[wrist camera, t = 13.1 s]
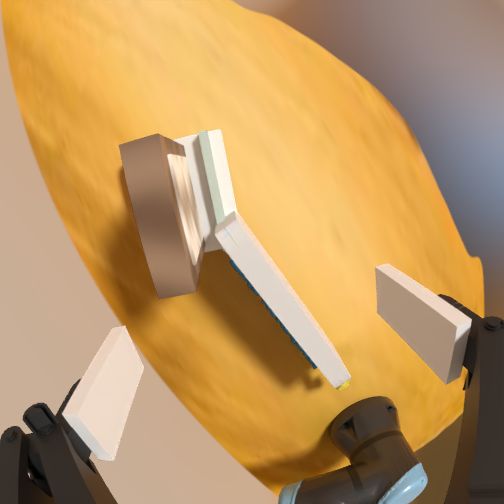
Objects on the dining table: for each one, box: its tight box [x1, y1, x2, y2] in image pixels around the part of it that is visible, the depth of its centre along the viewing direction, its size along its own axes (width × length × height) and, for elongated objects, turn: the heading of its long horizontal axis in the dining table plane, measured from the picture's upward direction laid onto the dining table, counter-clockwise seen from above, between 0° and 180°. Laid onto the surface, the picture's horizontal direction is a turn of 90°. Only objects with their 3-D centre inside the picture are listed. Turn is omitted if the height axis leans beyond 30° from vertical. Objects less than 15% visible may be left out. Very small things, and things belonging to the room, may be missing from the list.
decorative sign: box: [215, 211, 352, 391], centre depth 38 cm, size 32×4×10 cm, turn 35°
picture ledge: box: [173, 129, 238, 253], centre depth 35 cm, size 14×12×4 cm
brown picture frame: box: [119, 134, 205, 299], centre depth 27 cm, size 12×4×14 cm, turn 11°
